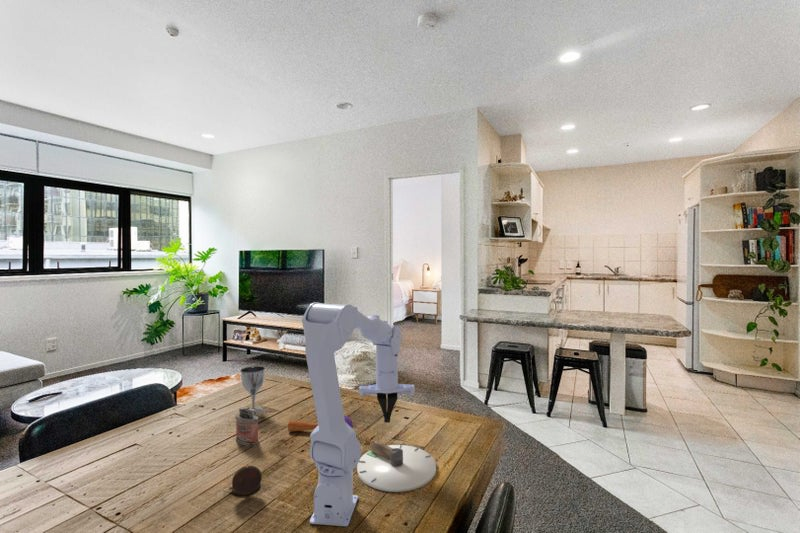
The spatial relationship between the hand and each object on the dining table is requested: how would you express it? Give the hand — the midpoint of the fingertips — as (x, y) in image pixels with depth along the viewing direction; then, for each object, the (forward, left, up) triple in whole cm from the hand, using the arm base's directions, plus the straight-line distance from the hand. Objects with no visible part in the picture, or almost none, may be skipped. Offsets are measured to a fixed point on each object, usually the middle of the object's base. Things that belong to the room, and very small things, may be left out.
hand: (387, 420), depth 102 cm
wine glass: (+26, +51, -11) cm, 58 cm away
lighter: (+5, +42, -11) cm, 44 cm away
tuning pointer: (-2, 0, -9) cm, 9 cm away
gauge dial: (-4, -3, -10) cm, 11 cm away
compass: (-17, +31, -11) cm, 37 cm away
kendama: (+13, +22, -11) cm, 28 cm away
